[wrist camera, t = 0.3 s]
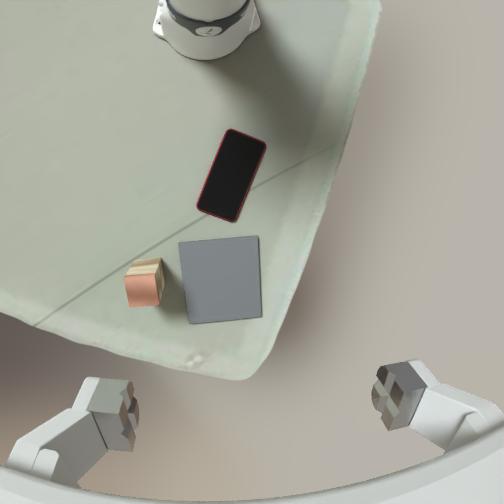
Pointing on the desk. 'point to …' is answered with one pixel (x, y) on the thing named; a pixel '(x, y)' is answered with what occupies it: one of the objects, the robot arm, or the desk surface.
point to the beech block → (145, 282)
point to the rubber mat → (221, 279)
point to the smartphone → (231, 175)
